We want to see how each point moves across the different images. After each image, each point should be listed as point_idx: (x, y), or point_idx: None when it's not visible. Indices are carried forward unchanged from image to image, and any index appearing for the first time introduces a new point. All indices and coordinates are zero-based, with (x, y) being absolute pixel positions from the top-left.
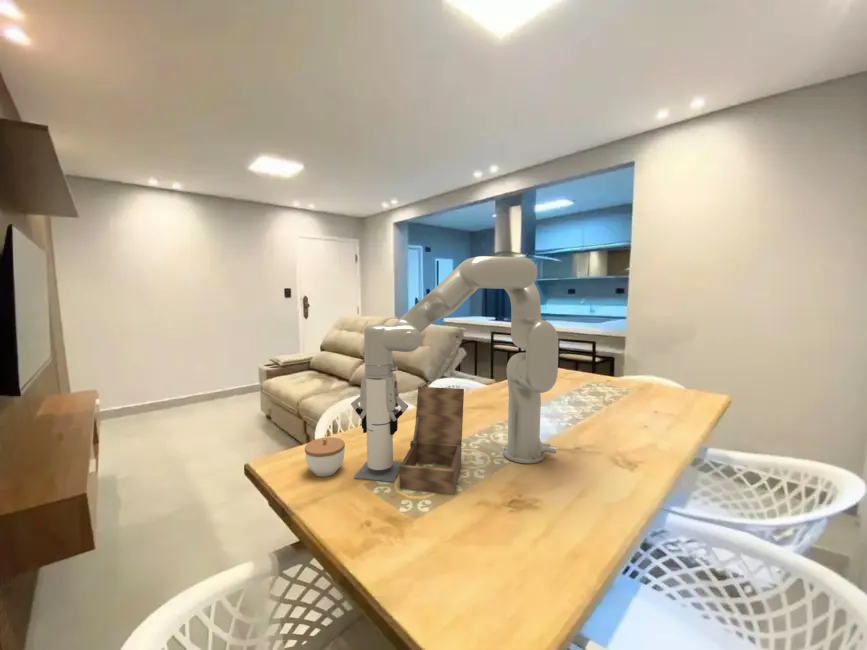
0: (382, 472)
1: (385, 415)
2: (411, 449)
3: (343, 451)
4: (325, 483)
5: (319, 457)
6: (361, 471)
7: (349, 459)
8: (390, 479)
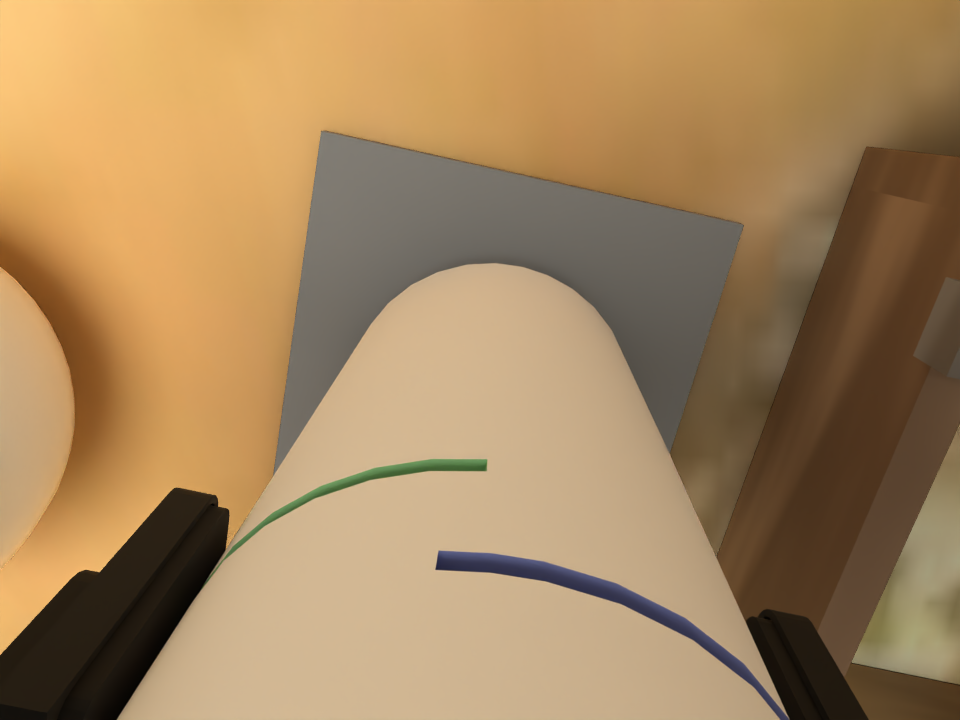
0: None
1: None
2: (920, 455)
3: (9, 472)
4: (56, 558)
5: None
6: (309, 410)
7: (95, 100)
8: None
